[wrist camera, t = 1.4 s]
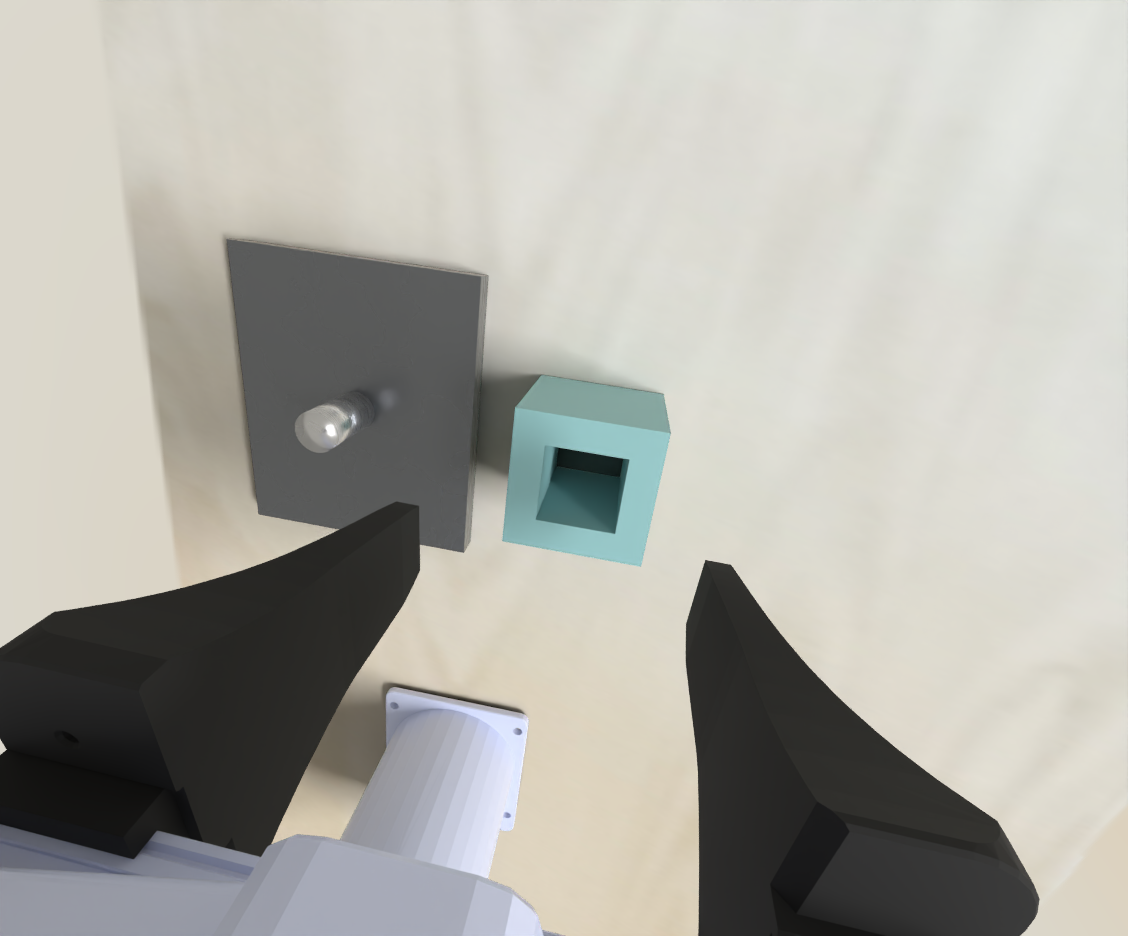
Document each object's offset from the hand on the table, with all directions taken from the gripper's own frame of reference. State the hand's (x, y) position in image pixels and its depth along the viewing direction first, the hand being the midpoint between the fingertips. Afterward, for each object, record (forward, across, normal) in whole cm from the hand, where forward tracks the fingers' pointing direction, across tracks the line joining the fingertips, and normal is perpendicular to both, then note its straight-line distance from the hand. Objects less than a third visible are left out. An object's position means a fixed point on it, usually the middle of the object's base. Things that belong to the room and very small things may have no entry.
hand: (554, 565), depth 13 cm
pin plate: (+10, +10, +1) cm, 14 cm away
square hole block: (+10, 0, +1) cm, 10 cm away
